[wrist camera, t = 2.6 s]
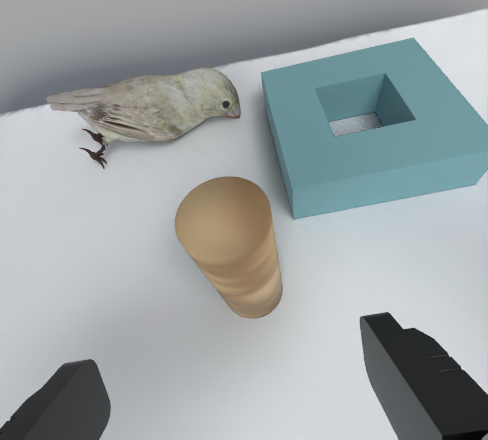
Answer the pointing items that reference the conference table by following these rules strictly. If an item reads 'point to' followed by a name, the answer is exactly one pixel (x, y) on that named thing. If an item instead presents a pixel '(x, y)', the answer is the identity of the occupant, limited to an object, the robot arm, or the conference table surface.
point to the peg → (233, 243)
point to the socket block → (374, 140)
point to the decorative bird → (151, 106)
